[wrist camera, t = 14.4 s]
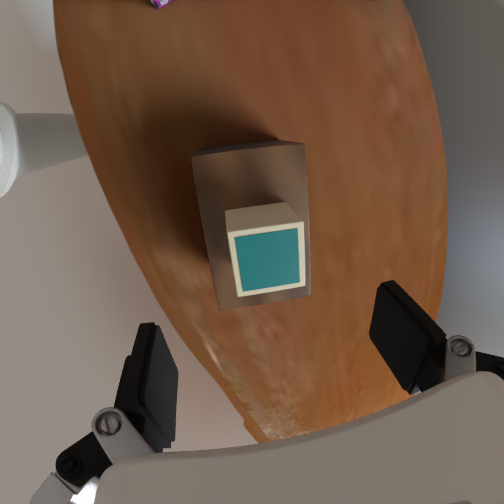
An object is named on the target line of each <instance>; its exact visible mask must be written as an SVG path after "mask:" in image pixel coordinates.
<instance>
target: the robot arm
mask: <svg viewBox="0 0 504 504" xmlns="http://www.w3.org/2000/svg"><path fill="white" fill-rule="evenodd" d="M3 155H4V141H3V135H2V131H1V128H0V170H1V167H2V162H3ZM369 336H370V339H371V340H372V342H373V343H374V345H375V346H376V348H377V349H378V351H379V352H380V354H381V356H382V357H383V359H384V360H385V362H386V363H387V365H388V366H389V368H390V369H391V371H392V373H393V374H394V376H395V377H396V379H397V380H398V382H399V384H400V385H401V387H402V388H403V390H405V391H406V390H407V392H408V393H409V395H412V394H414V393H416V392H418V391H421V392H422V393H420V394H418V395H415V396H413V397H411V398H409V399H407V400H404V401H402V402H400V403H397V404H395V405H393V406H390V407H388V408H385V409H383V410H380V411H378V412H375V413H372V414H370V415H367V416H364V417H361V418H358V419H356V420H353V421H350V422H347V423H343V424H340V425H337V426H334V427H330V428H327V429H323V430H319V431H316V432H312V433H308V434H304V435H300V436H295V437H291V438H286V439H281V440H276V441H271V442H265V443H259V444H253V445H246V446H239V447H230V448H221V449H211V450H198V451H181V452H164V453H163V448H171V441H175V427H176V403H177V386H178V370H177V367H176V365H175V362H174V360H173V358H172V355H171V353H170V351H169V348H168V346H167V343H166V341H165V338H164V336H163V333H162V331H161V328H160V326H159V325H155V324H154V323H153V322H151V323H141V324H140V325H139V329H138V332H137V335H136V339H135V342H134V346H133V350H132V354H131V355H129V356H127V357H126V360H125V363H124V367H123V371H122V375H121V378H120V382H119V386H118V391H117V395H116V399H115V404H114V408H113V407H109V408H104V409H102V410H100V411H99V412H98V413H96V415H95V416H94V418H93V420H92V430H93V431H92V432H91V433H89V434H88V435H86V436H85V437H83V438H82V439H80V440H79V441H78V442H76V443H75V444H73V445H72V446H70V447H69V448H67V449H66V450H64V451H63V452H62V453H61V454H60V455H59V456H58V458H57V460H56V470H57V471H56V472H55V473H52V472H51V473H50V475H49V476H48V477H47V478H46V480H45V481H44V482H43V484H42V485H41V486H40V487H39V489H38V490H37V491H36V493H35V494H34V495H33V496H32V498H31V500H30V504H504V358H503V357H499V356H495V355H490V354H486V353H481V352H477V351H475V347H474V344H473V343H472V342H471V341H470V340H469V339H468V338H466V337H464V336H460V335H456V336H452V337H450V338H449V340H447V339H446V338H445V337H446V334H445V333H444V332H443V330H442V329H441V328H440V327H439V326H438V325H437V324H436V323H435V322H434V321H433V320H432V319H431V317H430V316H429V315H428V314H427V313H426V312H425V311H424V310H423V309H422V308H421V307H420V306H419V305H418V304H417V303H416V302H415V301H414V300H413V299H412V298H411V297H410V296H409V295H408V294H407V293H406V292H405V291H404V290H403V289H402V288H401V287H400V286H399V285H398V284H397V283H396V282H395V281H394V280H391V281H387V282H383V283H381V284H380V287H378V288H377V293H376V299H375V305H374V310H373V316H372V321H371V326H370V330H369Z"/></svg>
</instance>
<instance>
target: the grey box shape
mask: <svg viewBox="0 0 504 504" xmlns="http://www.w3.org/2000/svg"><path fill="white" fill-rule="evenodd" d="M191 164H192V170H193V176H194V182H195V188H196V194H197V200H198V205H199V211H200V217H201V222H202V227H203V233H204V238H205V243H206V248H207V253H208V258H209V263H210V268H211V273H212V278H213V282H214V287H215V292H216V296H217V301H218V305H219V310H220V311H221V310H228V309H234V308H241V307H247V306H254V305H260V304H266V303H272V302H278V301H283V300H289V299H294V298H300V297H305V296H310V233H309V208H308V189H307V173H306V159H305V147H304V143H298V142H291V141H283V140H275V141H264V142H255V143H246V144H238V145H231V146H223V147H217V148H210V149H204V150H199V151H198V152H196V153H195V154H194V155H193V156H192V157H191ZM282 202H286V203H287V204H288V205H289V206H290V207H291V208H292V209H293V210H294V212H295V213H296V214H297V215H298V216H299V217H300V218H301V219H302V220H303V222H304V246H305V286H301V287H296V288H290V289H284V290H278V291H272V292H266V293H260V294H254V295H248V296H241V297H238V296H237V292H236V286H235V280H234V274H233V268H232V262H231V256H230V249H229V243H228V237H227V229H226V218H225V211H226V210H231V209H238V208H245V207H252V206H259V205H267V204H275V203H282Z"/></svg>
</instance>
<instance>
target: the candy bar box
mask: <svg viewBox="0 0 504 504" xmlns="http://www.w3.org/2000/svg"><path fill="white" fill-rule="evenodd" d="M150 1H151V2H152V3H153V5H154V6H155V7H156V8H157V9H160V8H161V7H163V6H165V5H167V4H168V3H170V2H172V1H174V0H150Z"/></svg>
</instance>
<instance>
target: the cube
mask: <svg viewBox="0 0 504 504" xmlns="http://www.w3.org/2000/svg"><path fill="white" fill-rule="evenodd" d="M225 218H226V229H227V237H228V243H229V249H230V256H231V262H232V268H233V274H234V280H235V286H236V292H237V296H238V297H241V296H248V295H254V294H260V293H266V292H272V291H278V290H284V289H290V288H296V287H301V286H305V246H304V222H303V220H302V219H301V218H300V217H299V216H298V215H297V214H296V213H295V212H294V210H293V209H292V208H291V207H290V206H289V205H288V204H287V203H286V202H282V203H275V204H267V205H259V206H252V207H245V208H238V209H231V210H226V211H225Z"/></svg>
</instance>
